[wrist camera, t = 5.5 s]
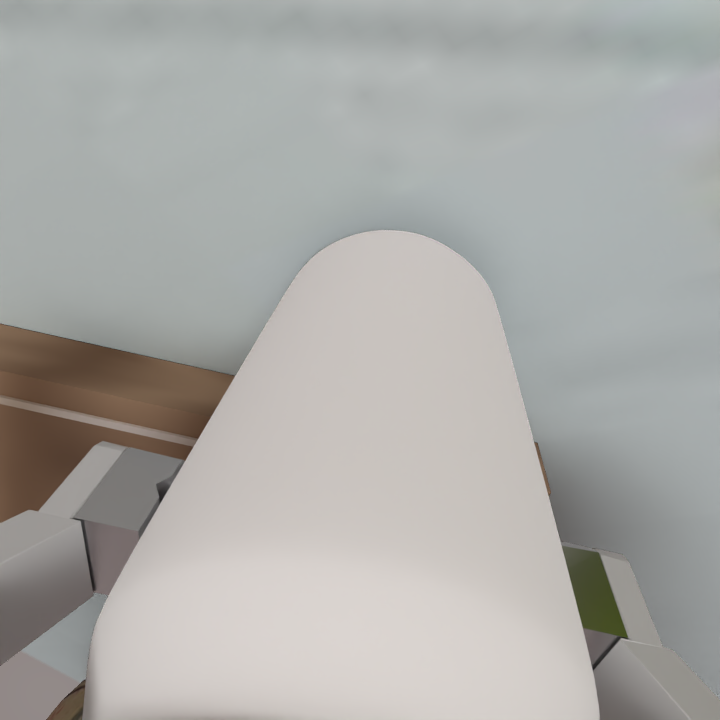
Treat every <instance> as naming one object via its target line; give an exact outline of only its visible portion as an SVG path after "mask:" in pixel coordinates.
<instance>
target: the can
mask: <svg viewBox="0 0 720 720" xmlns="http://www.w3.org/2000/svg"><path fill="white" fill-rule="evenodd" d="M599 718H600V714H599V704H598V698H597V691H596V685H595V679H594V674H593V669H592V665H591V661H590V657H589V652H588V648H587V644H586V640H585V635H584V631H583V627H582V623H581V619H580V615H579V611H578V607H577V604H576V600H575V596H574V592H573V588H572V584H571V580H570V576H569V572H568V569H567V565H566V561H565V557H564V553H563V549H562V546H561V542H560V538H559V534H558V530H557V527H556V523H555V519H554V515H553V511H552V508H551V504H550V500H549V496H548V492H547V489H546V485H545V481H544V477H543V474H542V470H541V466H540V462H539V459H538V455H537V451H536V447H535V444H534V440H533V436H532V432H531V429H530V425H529V421H528V418H527V414H526V410H525V406H524V403H523V399H522V395H521V392H520V388H519V384H518V381H517V377H516V373H515V369H514V366H513V362H512V358H511V355H510V351H509V348H508V344H507V340H506V337H505V333H504V329H503V326H502V322H501V319H500V315H499V312H498V309H497V305H496V302H495V299H494V297H493V294H492V292H491V290H490V288H489V286H488V285H487V283H486V281H485V280H484V279H483V277H482V276H481V275H480V274H479V272H478V271H477V270H476V269H475V268H474V267H473V266H472V265H471V264H470V263H469V262H468V261H467V260H465V259H464V258H463V257H462V256H460V255H459V254H458V253H456V252H455V251H453V250H452V249H450V248H449V247H447V246H446V245H444V244H442V243H440V242H438V241H436V240H434V239H432V238H429V237H426V236H423V235H420V234H416V233H412V232H406V231H398V230H377V231H368V232H363V233H358V234H355V235H351V236H348V237H346V238H343V239H341V240H338V241H336V242H334V243H332V244H331V245H329V246H327V247H326V248H324V249H322V250H321V251H320V252H318V253H317V254H316V255H315V256H313V257H312V258H311V259H310V260H309V261H308V262H307V263H306V264H305V265H304V267H303V268H302V269H301V270H300V271H299V273H298V274H297V275H296V277H295V278H294V280H293V281H292V283H291V284H290V286H289V287H288V289H287V291H286V292H285V294H284V296H283V297H282V299H281V300H280V302H279V304H278V305H277V307H276V309H275V310H274V312H273V314H272V315H271V317H270V319H269V320H268V322H267V324H266V325H265V327H264V329H263V330H262V332H261V334H260V335H259V337H258V339H257V340H256V342H255V344H254V345H253V347H252V349H251V350H250V352H249V354H248V356H247V357H246V359H245V361H244V362H243V364H242V366H241V367H240V369H239V371H238V372H237V374H236V376H235V377H234V379H233V381H232V383H231V384H230V386H229V388H228V389H227V391H226V393H225V394H224V396H223V398H222V399H221V401H220V403H219V405H218V406H217V408H216V410H215V411H214V413H213V415H212V416H211V418H210V420H209V421H208V423H207V425H206V427H205V428H204V430H203V432H202V433H201V435H200V437H199V438H198V440H197V442H196V444H195V445H194V447H193V449H192V450H191V452H190V454H189V455H188V457H187V459H186V461H185V462H184V464H183V466H182V467H181V469H180V471H179V473H178V474H177V476H176V478H175V479H174V481H173V483H172V484H171V486H170V488H169V490H168V491H167V493H166V495H165V496H164V498H163V500H162V502H161V503H160V505H159V507H158V509H157V510H156V512H155V514H154V515H153V517H152V519H151V521H150V522H149V524H148V526H147V528H146V529H145V531H144V533H143V535H142V536H141V538H140V540H139V541H138V543H137V545H136V547H135V548H134V550H133V552H132V554H131V555H130V557H129V559H128V561H127V563H126V565H125V566H124V568H123V570H122V572H121V574H120V575H119V577H118V579H117V581H116V583H115V585H114V586H113V588H112V590H111V592H110V594H109V596H108V598H107V600H106V602H105V604H104V606H103V609H102V611H101V613H100V615H99V617H98V620H97V622H96V625H95V628H94V631H93V635H92V640H91V644H90V650H89V657H88V664H87V673H86V683H85V695H84V706H83V717H82V720H599Z"/></svg>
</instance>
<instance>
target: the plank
mask: <svg viewBox="0 0 720 720" xmlns="http://www.w3.org/2000/svg"><path fill="white" fill-rule="evenodd" d="M234 377H235V376H233V375H228V374H224V373H219V372H215V371H210V370H206V369H201V368H197V367H192V366H188V365H183V364H179V363H174V362H169V361H165V360H160V359H156V358H151V357H147V356H142V355H138V354H133V353H129V352H124V351H120V350H115V349H111V348H106V347H102V346H97V345H93V344H88V343H84V342H79V341H75V340H70V339H66V338H61V337H57V336H52V335H48V334H43V333H39V332H34V331H30V330H25V329H21V328H16V327H11V326H7V325H2V324H0V523H2V522H4V521H6V520H8V519H10V518H12V517H14V516H16V515H19V514H21V513H23V512H25V511H27V510H34V511H39V510H40V508H41V507H42V506H43V505H44V504H45V502H46V501H47V500H48V499H49V498H50V497H51V495H52V494H53V493H54V492H55V491H56V490H57V488H58V487H59V486H60V485H61V484H62V483H63V481H64V480H65V479H66V478H67V477H68V475H69V474H70V473H71V472H72V471H73V470H74V468H75V467H76V466H77V465H78V464H79V463H80V461H81V460H82V459H83V458H84V457H85V456H86V454H87V453H88V452H89V451H90V450H91V448H92V447H93V446H95V445H96V444H98V443H100V442H102V441H105V442H109V443H113V444H118V445H122V446H126V447H132V448H136V449H140V450H144V451H148V452H152V453H156V454H160V455H165V456H169V457H173V458H177V459H181V460H184V461H186V459H187V457H188V455H189V454H190V452H191V450H192V449H193V447H194V445H195V444H196V442H197V440H198V438H199V437H200V435H201V433H202V432H203V430H204V428H205V427H206V425H207V423H208V421H209V420H210V418H211V416H212V415H213V413H214V411H215V410H216V408H217V406H218V405H219V403H220V401H221V399H222V398H223V396H224V394H225V393H226V391H227V389H228V388H229V386H230V384H231V383H232V381H233V379H234ZM534 444H535V447H536V451H537V455H538V459H539V462H540V466H541V470H542V474H543V477H544V481H545V485H546V489H547V492H548V496H549V495H550V494H551V491H550V487H549V483H548V480H547V476H546V472H545V469H544V465H543V462H542V458H541V454H540V451H539V447H538V443H535V442H534Z"/></svg>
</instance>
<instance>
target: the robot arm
mask: <svg viewBox="0 0 720 720" xmlns="http://www.w3.org/2000/svg"><path fill="white" fill-rule="evenodd" d="M184 462H185V461H184V460H181V459H177V458H173V457H169V456H165V455H160V454H156V453H152V452H148V451H144V450H140V449H136V448H132V447H126V446H122V445H118V444H113V443H109V442H105V441H102V442H100V443H98V444H96V445H95V446H93V447H92V448H91V450H90V451H89V452H88V453H87V454H86V456H85V457H84V458H83V459H82V460H81V461H80V463H79V464H78V465H77V466H76V467H75V468H74V470H73V471H72V472H71V473H70V474H69V475H68V477H67V478H66V479H65V480H64V481H63V483H62V484H61V485H60V486H59V487H58V488H57V490H56V491H55V492H54V493H53V494H52V495H51V497H50V498H49V499H48V500H47V501H46V502H45V504H44V505H43V506H42V507H41V508H40V510H39V511H34V510H27V511H25V512H23V513H21V514H19V515H16V516H14V517H12V518H10V519H8V520H6V521H4V522H2V523H0V666H1V665H2V664H3V663H5V662H6V661H7V660H9V659H10V658H11V657H13V656H14V655H15V654H17V653H18V652H19V651H21V650H22V649H23V648H25V647H26V646H27V645H29V644H30V643H31V642H33V641H34V640H35V639H37V638H38V637H39V636H41V635H42V634H43V633H45V632H46V631H47V630H49V629H50V628H51V627H53V626H54V625H55V624H57V623H58V622H59V621H61V620H62V619H63V618H65V617H66V616H67V615H69V614H70V613H71V612H73V611H74V610H75V609H77V608H78V607H79V606H81V605H82V604H83V603H84V602H86V601H87V600H88V599H90V598H91V597H92V596H93V595H94V594H93V592H95V593H100V594H105V595H109V594H110V592H111V590H112V588H113V586H114V585H115V583H116V581H117V579H118V577H119V575H120V574H121V572H122V570H123V568H124V566H125V565H126V563H127V561H128V559H129V557H130V555H131V554H132V552H133V550H134V548H135V547H136V545H137V543H138V541H139V540H140V538H141V536H142V535H143V533H144V531H145V529H146V528H147V526H148V524H149V522H150V521H151V519H152V517H153V515H154V514H155V512H156V510H157V509H158V507H159V505H160V503H161V502H162V500H163V498H164V496H165V495H166V493H167V491H168V490H169V488H170V486H171V484H172V483H173V481H174V479H175V478H176V476H177V474H178V473H179V471H180V469H181V467H182V466H183V464H184ZM560 542H561V546H562V549H563V553H564V557H565V561H566V565H567V569H568V572H569V576H570V580H571V584H572V588H573V592H574V596H575V600H576V604H577V607H578V611H579V615H580V619H581V623H582V627H583V631H584V635H585V640H586V644H587V648H588V652H589V657H590V661H591V665H592V669H593V674H594V679H595V685H596V691H597V698H598V704H599V714H600V718H599V720H720V700H719V698H718V697H717V696H716V695H715V694H714V693H713V692H712V691H711V690H710V689H709V688H708V687H707V686H706V685H705V684H704V683H703V681H702V680H701V679H700V678H699V677H698V676H697V675H696V674H695V673H694V672H693V671H692V670H691V669H690V668H689V667H688V666H687V665H686V663H685V662H684V661H683V660H682V659H681V658H680V657H679V656H678V655H677V654H676V653H675V652H674V651H673V650H672V649H669V648H665V647H663V645H662V643H661V640H660V638H659V636H658V633H657V631H656V628H655V626H654V623H653V621H652V618H651V616H650V613H649V611H648V608H647V606H646V603H645V601H644V598H643V596H642V593H641V591H640V588H639V586H638V584H637V581H636V579H635V576H634V574H633V571H632V569H631V566H630V564H629V561H628V560H627V559H626V558H625V556H624V555H623V554H619V553H614V552H610V551H605V550H600V549H596V548H590V547H587V546H582V545H577V544H573V543H568V542H563V541H560Z"/></svg>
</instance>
